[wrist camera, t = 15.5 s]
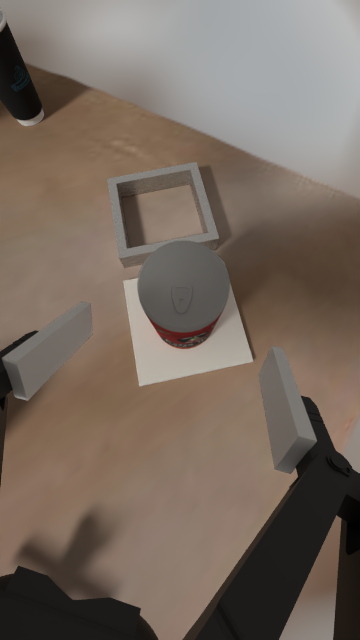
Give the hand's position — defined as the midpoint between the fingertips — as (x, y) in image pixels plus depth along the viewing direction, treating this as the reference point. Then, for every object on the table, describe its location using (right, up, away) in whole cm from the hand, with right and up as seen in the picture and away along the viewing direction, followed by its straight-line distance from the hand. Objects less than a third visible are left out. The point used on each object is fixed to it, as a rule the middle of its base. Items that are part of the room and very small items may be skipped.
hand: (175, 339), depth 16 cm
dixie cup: (-27, +38, +24) cm, 52 cm away
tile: (+1, +1, +13) cm, 13 cm away
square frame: (-2, +16, +17) cm, 24 cm away
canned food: (+1, +1, +13) cm, 13 cm away
